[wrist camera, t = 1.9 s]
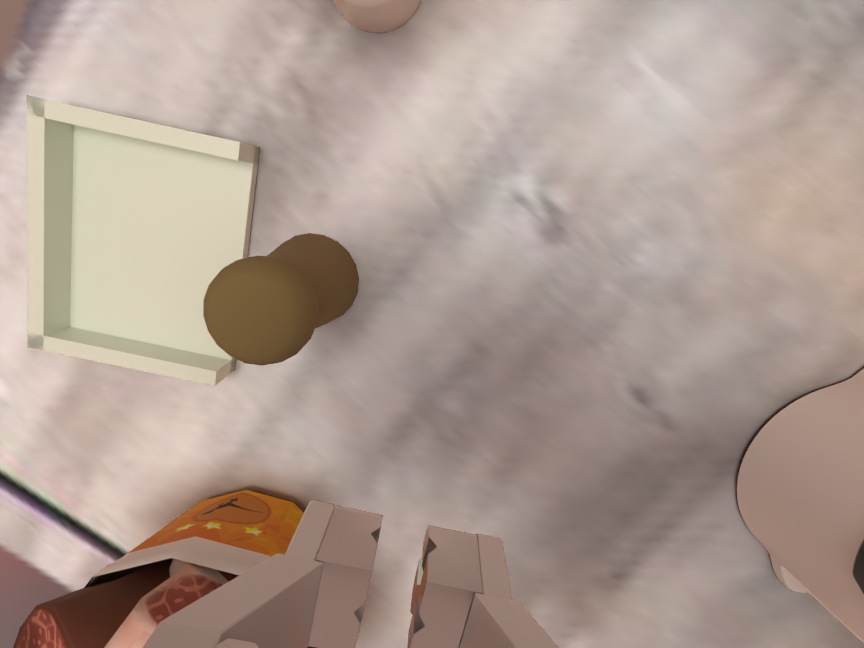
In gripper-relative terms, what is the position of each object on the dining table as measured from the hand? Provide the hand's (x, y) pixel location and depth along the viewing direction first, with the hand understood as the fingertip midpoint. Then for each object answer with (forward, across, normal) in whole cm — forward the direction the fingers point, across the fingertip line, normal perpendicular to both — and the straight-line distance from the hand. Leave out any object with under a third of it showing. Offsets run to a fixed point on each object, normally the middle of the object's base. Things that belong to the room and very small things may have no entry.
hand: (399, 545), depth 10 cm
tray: (+23, +18, 0) cm, 30 cm away
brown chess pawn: (+23, +8, 0) cm, 25 cm away
